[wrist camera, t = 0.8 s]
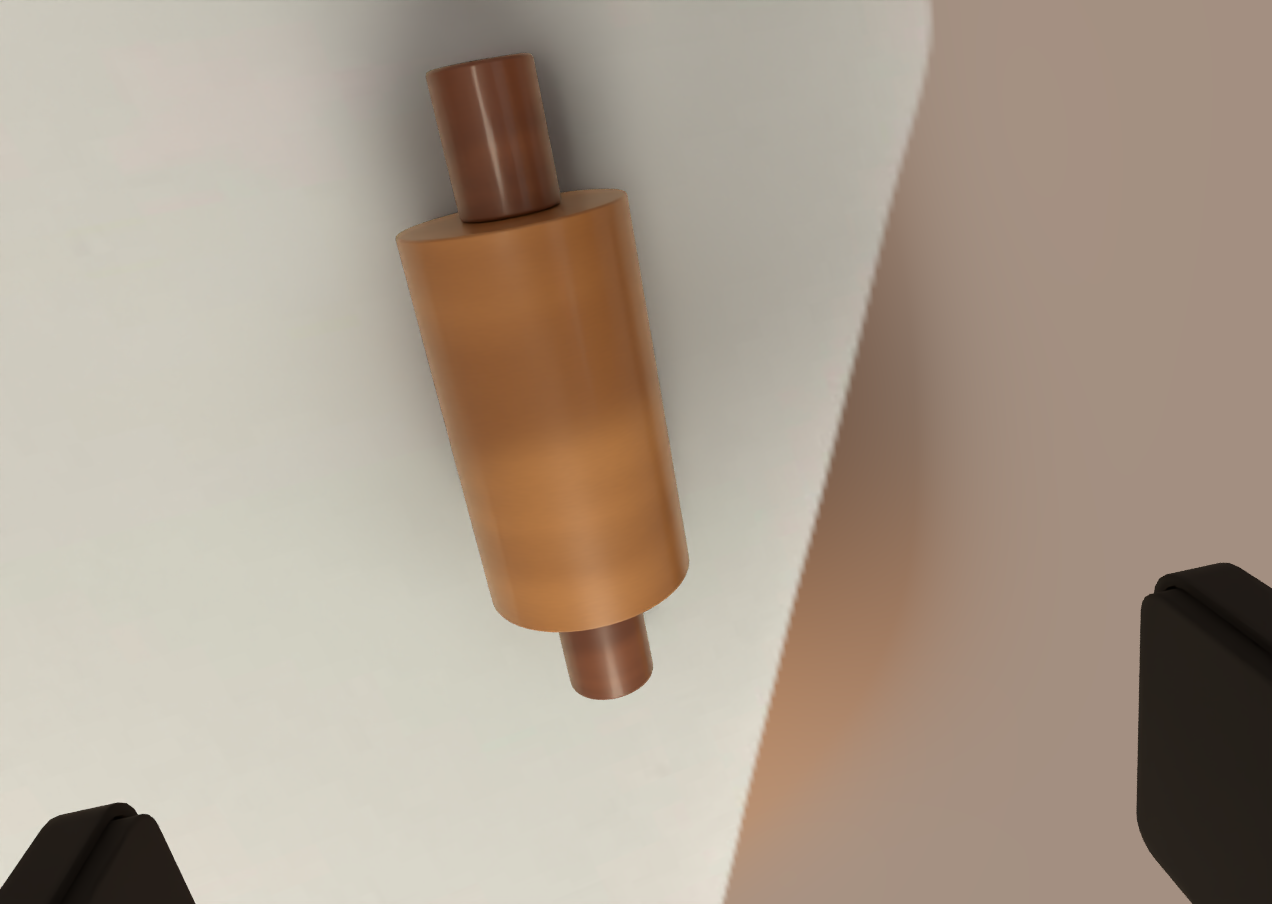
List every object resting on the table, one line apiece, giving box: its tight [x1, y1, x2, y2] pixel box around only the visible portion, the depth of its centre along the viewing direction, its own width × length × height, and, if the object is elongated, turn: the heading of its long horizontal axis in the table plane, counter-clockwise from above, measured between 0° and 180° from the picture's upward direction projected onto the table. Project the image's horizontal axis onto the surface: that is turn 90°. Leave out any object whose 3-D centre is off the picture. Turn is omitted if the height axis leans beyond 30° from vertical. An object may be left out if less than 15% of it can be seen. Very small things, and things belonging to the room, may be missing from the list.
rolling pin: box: [396, 53, 689, 700], centre depth 21 cm, size 15×5×5 cm, turn 10°
